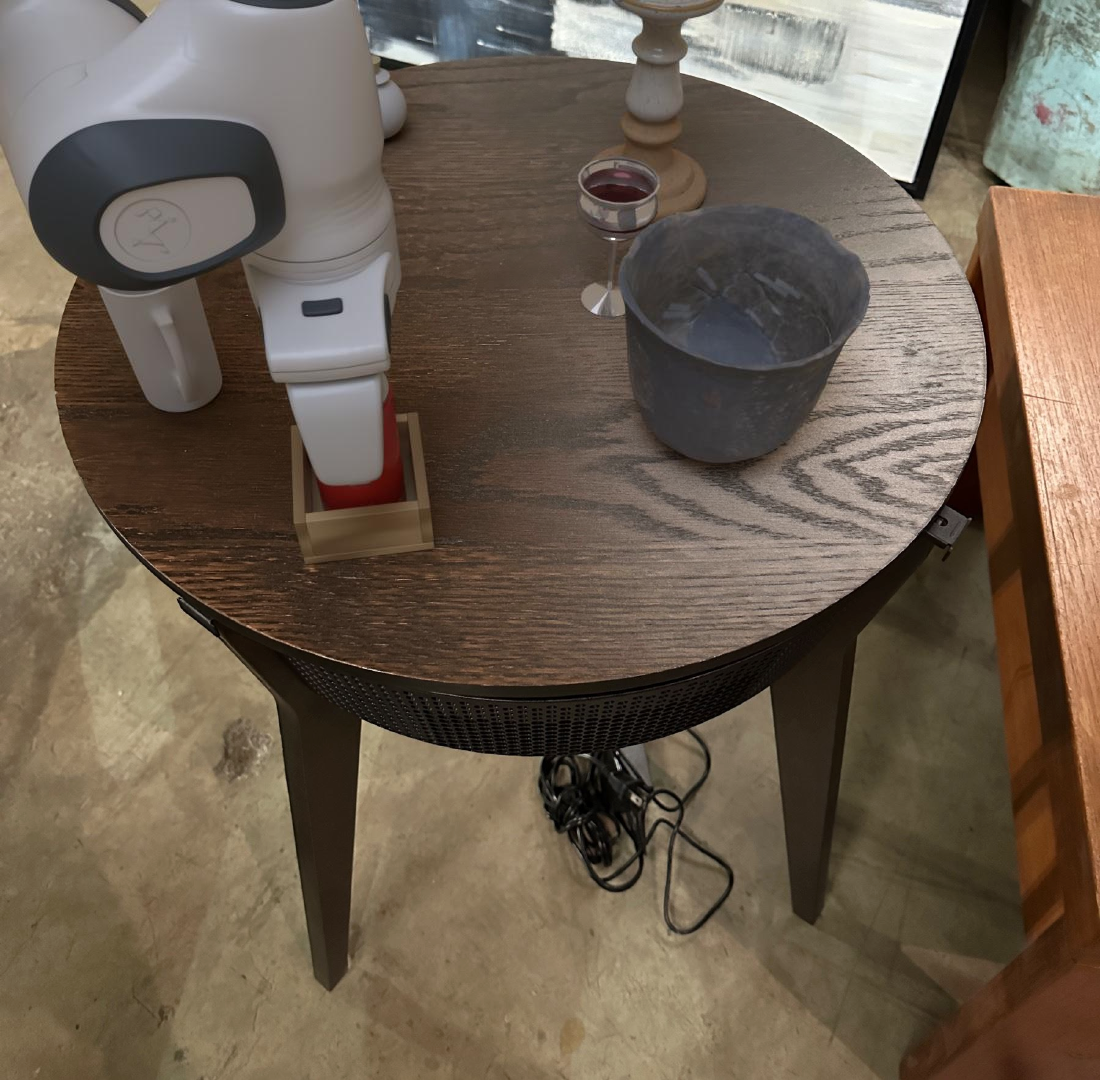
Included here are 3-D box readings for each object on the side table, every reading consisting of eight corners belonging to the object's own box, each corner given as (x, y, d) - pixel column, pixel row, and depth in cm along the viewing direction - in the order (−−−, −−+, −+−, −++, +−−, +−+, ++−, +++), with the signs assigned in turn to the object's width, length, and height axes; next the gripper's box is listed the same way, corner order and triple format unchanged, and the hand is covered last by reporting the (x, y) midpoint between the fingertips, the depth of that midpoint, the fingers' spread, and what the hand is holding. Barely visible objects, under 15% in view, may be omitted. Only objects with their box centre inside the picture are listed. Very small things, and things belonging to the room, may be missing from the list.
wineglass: (566, 276, 94) (571, 158, 85) (639, 272, 95) (652, 154, 85) (576, 325, 90) (583, 207, 80) (652, 321, 91) (668, 202, 81)
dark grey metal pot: (845, 511, 78) (904, 364, 66) (614, 518, 77) (632, 370, 65) (797, 351, 89) (841, 200, 77) (594, 355, 88) (606, 203, 76)
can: (324, 538, 74) (297, 428, 65) (321, 474, 78) (294, 361, 69) (410, 528, 75) (395, 417, 66) (403, 465, 79) (388, 352, 69)
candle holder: (579, 153, 106) (589, -55, 90) (697, 153, 107) (728, -54, 91) (586, 226, 99) (599, 13, 83) (713, 225, 99) (750, 14, 83)
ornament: (416, 145, 106) (407, 49, 98) (345, 158, 105) (331, 62, 97) (400, 115, 110) (390, 20, 102) (331, 127, 108) (316, 32, 100)
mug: (132, 372, 85) (84, 252, 76) (212, 348, 87) (175, 228, 78) (164, 453, 80) (116, 335, 70) (248, 426, 82) (213, 307, 72)
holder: (305, 565, 74) (293, 523, 70) (301, 468, 79) (290, 425, 75) (434, 549, 75) (430, 507, 71) (422, 455, 80) (417, 411, 77)
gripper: (265, 158, 65) (303, 328, 76) (266, 384, 52) (312, 547, 63) (365, 150, 65) (389, 319, 76) (390, 371, 53) (414, 534, 64)
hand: (354, 424), depth 70 cm, fingers open, 8 cm apart
